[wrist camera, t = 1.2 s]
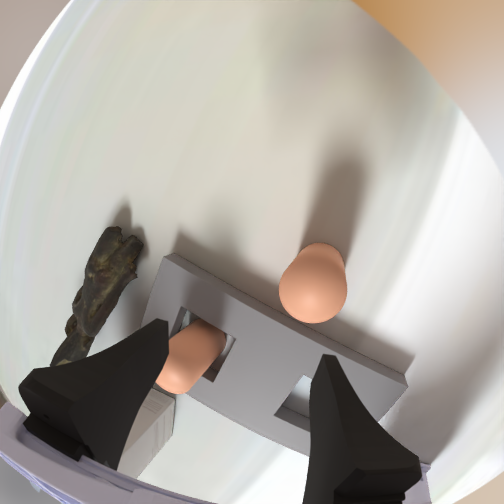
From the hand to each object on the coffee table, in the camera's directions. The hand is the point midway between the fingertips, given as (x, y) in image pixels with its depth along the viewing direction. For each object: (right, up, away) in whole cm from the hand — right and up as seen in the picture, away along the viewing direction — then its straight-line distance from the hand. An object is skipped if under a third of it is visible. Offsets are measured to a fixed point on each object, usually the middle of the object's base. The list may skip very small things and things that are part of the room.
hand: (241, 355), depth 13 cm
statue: (-16, -1, +18) cm, 24 cm away
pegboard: (+1, -6, +13) cm, 15 cm away
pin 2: (+6, +3, +11) cm, 13 cm away
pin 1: (-4, -3, +14) cm, 15 cm away
